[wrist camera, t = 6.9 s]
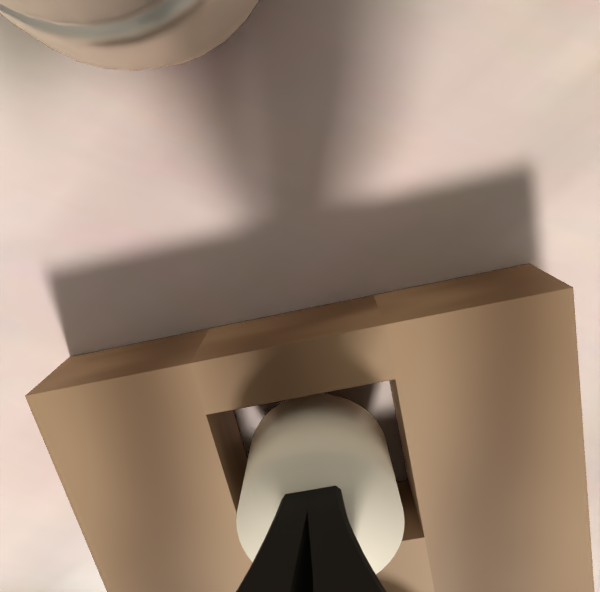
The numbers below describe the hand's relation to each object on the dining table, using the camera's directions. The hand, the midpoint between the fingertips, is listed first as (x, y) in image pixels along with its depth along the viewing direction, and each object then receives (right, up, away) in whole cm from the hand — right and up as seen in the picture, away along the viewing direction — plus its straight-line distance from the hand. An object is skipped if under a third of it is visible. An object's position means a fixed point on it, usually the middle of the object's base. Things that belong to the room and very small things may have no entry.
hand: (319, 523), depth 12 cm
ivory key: (0, +1, +3) cm, 3 cm away
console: (+2, -5, +6) cm, 8 cm away
